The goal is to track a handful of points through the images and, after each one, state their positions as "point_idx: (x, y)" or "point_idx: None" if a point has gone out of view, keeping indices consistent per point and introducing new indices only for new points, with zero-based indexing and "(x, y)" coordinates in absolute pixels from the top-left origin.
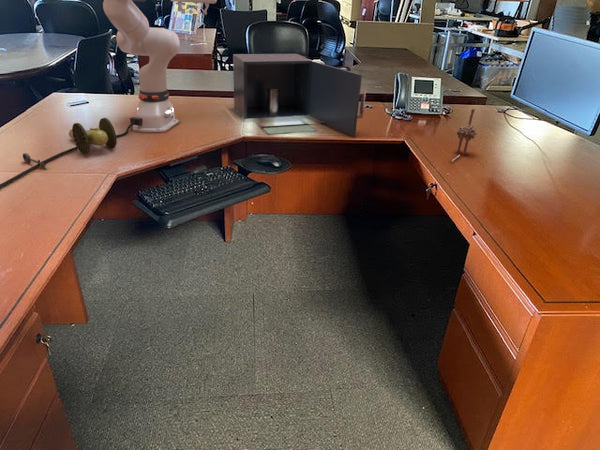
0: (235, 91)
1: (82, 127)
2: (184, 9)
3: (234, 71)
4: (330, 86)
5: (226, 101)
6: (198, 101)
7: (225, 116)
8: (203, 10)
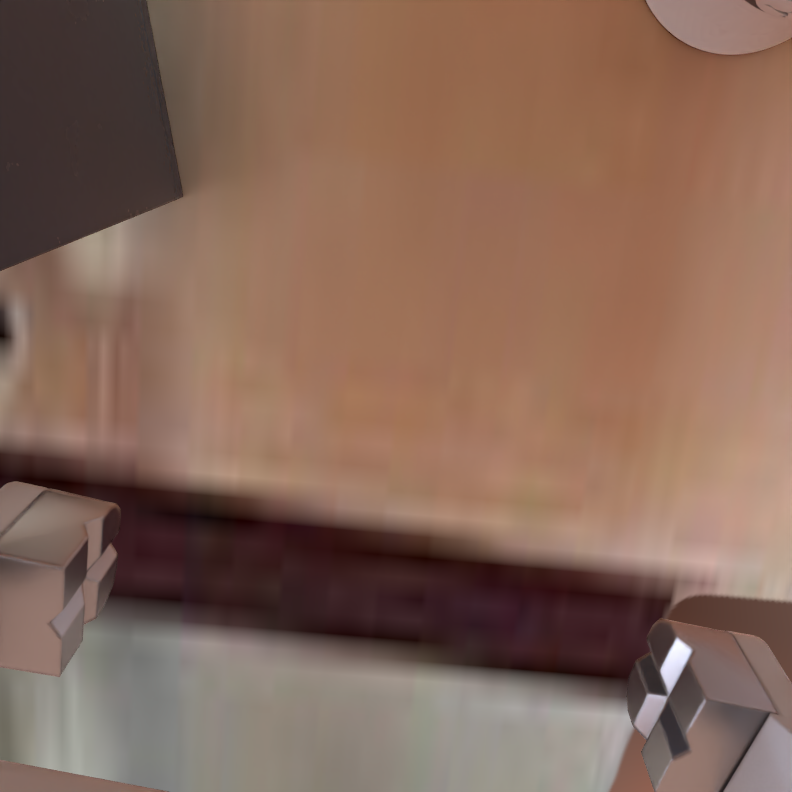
0: (117, 156)
1: None
2: (691, 715)
3: (43, 198)
4: None
5: (226, 412)
6: (403, 430)
7: (253, 27)
8: (42, 557)
